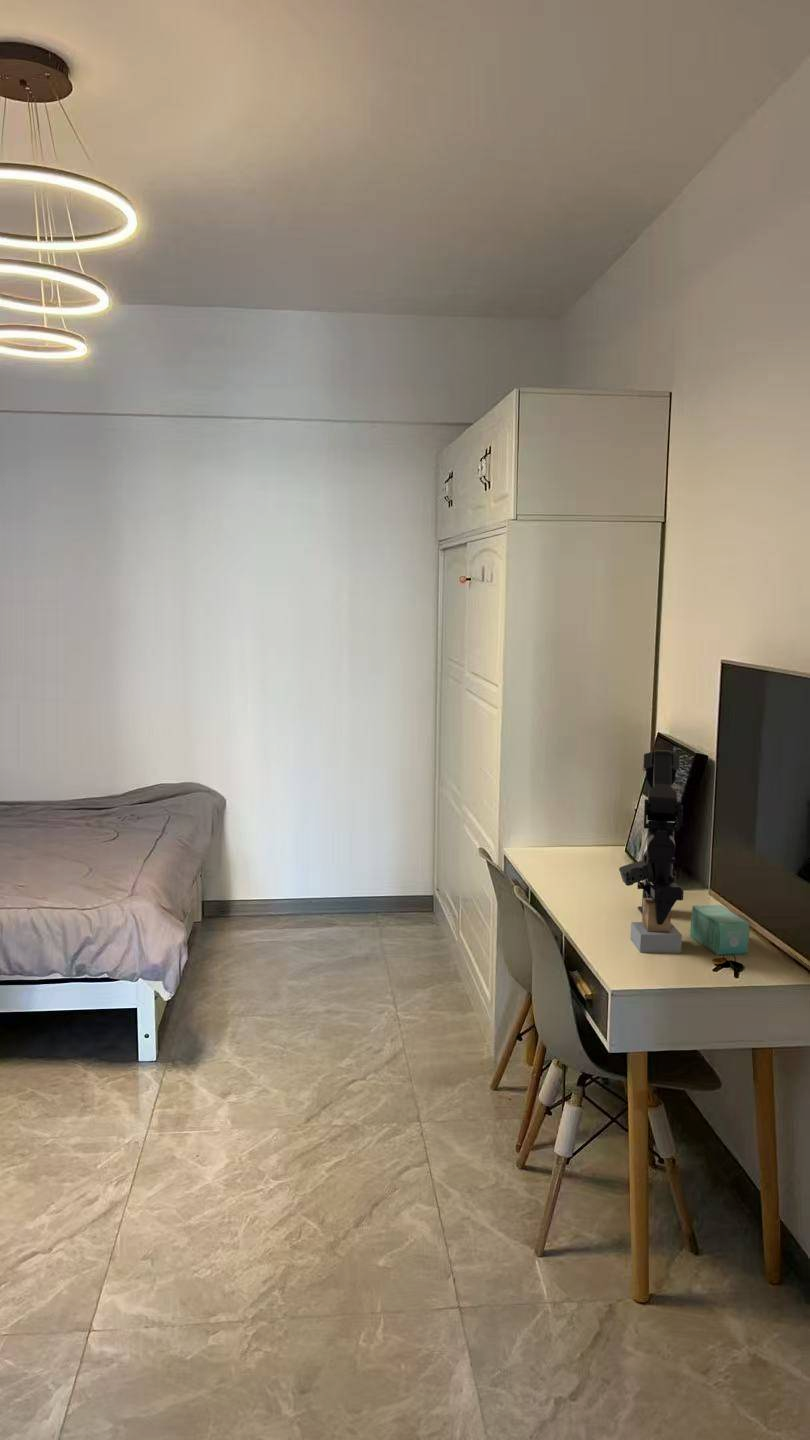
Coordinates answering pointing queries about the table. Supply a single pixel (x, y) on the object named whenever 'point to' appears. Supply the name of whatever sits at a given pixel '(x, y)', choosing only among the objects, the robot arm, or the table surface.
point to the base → (656, 939)
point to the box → (719, 929)
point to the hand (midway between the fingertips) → (656, 920)
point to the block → (653, 917)
